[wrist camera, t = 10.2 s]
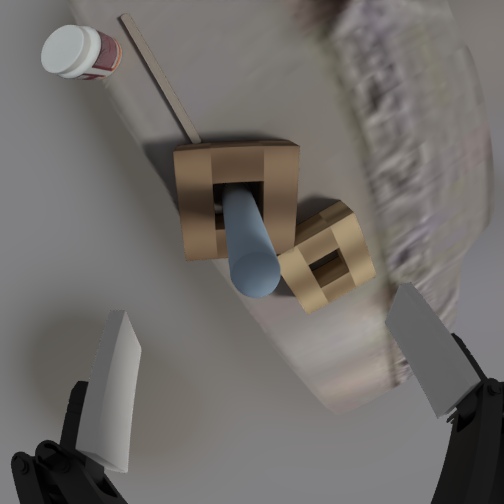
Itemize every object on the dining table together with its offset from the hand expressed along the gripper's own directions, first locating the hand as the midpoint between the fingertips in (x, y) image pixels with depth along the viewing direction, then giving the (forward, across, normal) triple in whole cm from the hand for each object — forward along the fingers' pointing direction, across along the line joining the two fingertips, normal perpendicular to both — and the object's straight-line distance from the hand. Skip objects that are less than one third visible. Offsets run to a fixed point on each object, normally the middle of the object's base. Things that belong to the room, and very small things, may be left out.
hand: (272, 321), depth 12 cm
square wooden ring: (+18, 0, -1) cm, 19 cm away
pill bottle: (+19, -13, +15) cm, 28 cm away
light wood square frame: (+18, +10, -9) cm, 23 cm away
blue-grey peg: (+18, 0, -1) cm, 19 cm away
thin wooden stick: (+19, -7, +12) cm, 24 cm away
